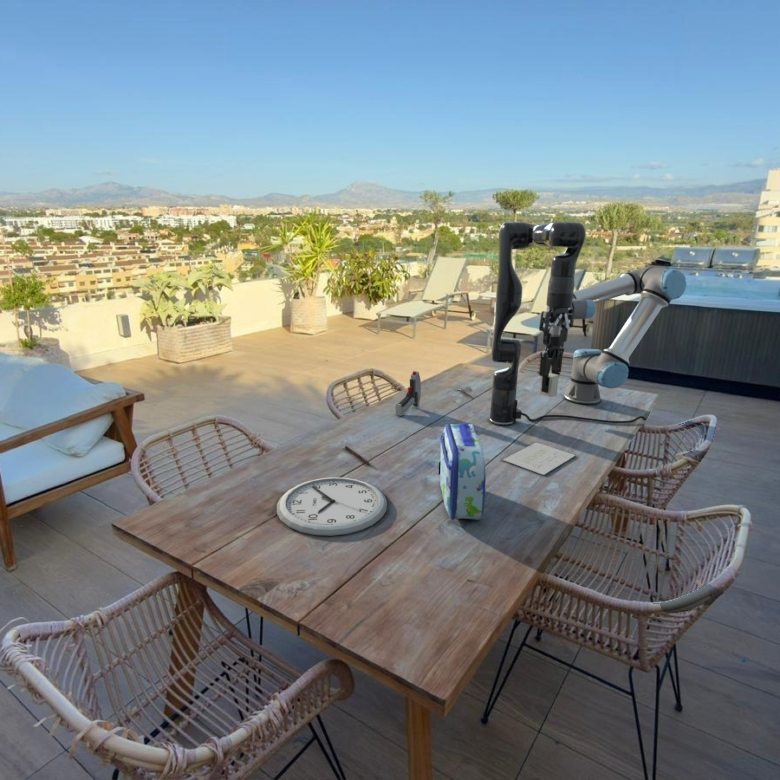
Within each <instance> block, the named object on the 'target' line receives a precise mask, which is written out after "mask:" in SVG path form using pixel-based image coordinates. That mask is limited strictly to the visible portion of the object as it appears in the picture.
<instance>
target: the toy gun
mask: <svg viewBox="0 0 780 780" xmlns="http://www.w3.org/2000/svg"><path fill="white" fill-rule="evenodd" d="M421 394H422V381H421V376H420V372H419V371H416V370H413V371H412V372H411V374H410V379H409V386H408V387H407V393H406V395H405V396H404V397H403V398H402V399H401V400H400V401H399V402H398V403H395V415H396V416H399V417H402V416H404V415H405V414H406V413H407V412H408V411H409V409H410V408H411V407H412V406H413V407H414V408H417V409H419V407H420V402H421V396H422V395H421Z"/></svg>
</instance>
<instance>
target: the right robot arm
mask: <svg viewBox="0 0 780 780" xmlns="http://www.w3.org/2000/svg"><path fill="white" fill-rule="evenodd" d="M686 288H687V278H686V275H685V274H684V273H683V272H682V271H681V270H679V269H675V268H672V267H660V266H646V267H640V268H638V269H634V270H631V271H628V272H625V273H622V274H620V276H619V277H616V278H614V279H611V280H607V281H605V282H604V281H603V282H600V283H597V284H594V285H591V286H588V287H585V288H581V289H578V290H574V292H573V301H572V306H571V307H570V308H571V309H574V310H575V311H574V320H588V319H589V320H590V319H592V318H593V317H594V316H595V314H596V310H597V307H596V304H599V303H602V302H606V301H609V300H612V299H615V298H618V297H622V296H632V295H640V296H641V298H640V300H639V301H638V303H637V305H636V306H635V308H634V309H633V311H632V312H631V314H630V316H629V317H628V318H627V320H626V322H624V325H623V326H622V328H621V329H620V331H619V332H618V334H617V335H616V337H615V338H614V340H613V341H612V343H611V345H610V346H609V347H608V348H605V349H603V350H602V349H596V348H580V349H576V350H575V351H574V353H573V356H572V366H571V372H570V373H571V374H570V382H569V383H568V386H567V387H566V390H565V391H564V395H563V397H564V399H565V400H566V401H568V402H570V403H574V404H578V405H579V404H580V405H596V404H599V403H600V402H601V393H600V387H602V388H606V389H617V388H619V387H621V386H622V385H623V384H624V383H625V382H626V381H627V379H628V377H629V372H630V371H629V368H628V367H629V365H630V357H631V355H632V354H633V352H634V350H635V349H636V348H637V346H638V344H640V342H641V340H642V339H643V337H644V335H645V334H646V333H647V332H648V329H649V328H650V327H651V325H652V323H653V322H654V320H655V319H656V317H657V316H658V314H659V313H660V311H661V310H662V309H663V308H666V307H668V306H669V305H670V303H671V302H672V301H674V300H677V299H680V298H681V297H682V296H683V295H684V293H685V292H686ZM548 311H549V306H547V305H546V312H548ZM549 323H551V322H549ZM549 328H550V327H548V329H549ZM560 330H561V327H560V325H559V324H558V325H556V327H555V328H553V330H552V332H551V342H550V345H545V348H544V351H540V352H539V355H540V356H539V357H540V360H539V361H540V363H539V372H538V373H539V374H538V375H539V376H540V377H541V376H542V377H543V378H542V389H541V392H545V393H548V388H549V379H550V377H548V376H549V373H552V374H557V375H559V376H560V375H561V371H562V366H563V365H562V363H563V359H564V358H563V357H564V352H565V348H562V346H563V345H564V342H562V341H560V340H559V339H560ZM550 371H551V372H550ZM599 386H600V387H599Z"/></svg>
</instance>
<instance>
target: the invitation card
mask: <svg viewBox="0 0 780 780" xmlns="http://www.w3.org/2000/svg"><path fill="white" fill-rule="evenodd" d="M576 456H577V455H576V454H573V453H570V452H567V451H565V450H561V449H558V448H555V447H552V446H549V445H546V444H543V443H539V442H534V443H532V444H529V445H528V446H526V447H524V448H522V449H520V450H518V451H516V452H514V453H512V454H510V455H509V456H507V457H505V458H503V459H502V461H503V462H506V463H509V464H511V465H514V466H518V467H520V468H523V469H525V470H528V471H531V472H534V473H536V474H539V475H541V476H545V475H547V474H548V473H550V472H552V471H554V469H556V468H558V467H559V466H561V465H563V464H564V463H566V462H568V461H570V460H571V459H572V458H574V457H576Z"/></svg>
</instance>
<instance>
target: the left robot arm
mask: <svg viewBox="0 0 780 780" xmlns="http://www.w3.org/2000/svg"><path fill="white" fill-rule="evenodd" d="M586 237H587V231H586V227H585V225H584V224H583V223H581V222H578V221H577V222H576V221H575V222H574V221H556V222H547V223H540V224H537V225H535V224H532V223H529V222H525V221H508V222H503V223H502V225H501V226H500V228H499V230H498V242H497V243H498V245H497V246H498V266H497V267H498V269H497V283H496V290H495V291H496V293H495V310H494V311H495V313H494V325H493V335H492V339H491V340H492V341H491V348H490V350H491V351H490V356H491V357H490V358H491V361H492V362H494V363H499V364H509V365H508V366H507V367H504V368H501V369H497V370H495V371H494V372H493V374H492V388H491V399H490V410H489V411H490V413H489V414H490V415H489V422H490V423H491V424H494V425H497V426H511V425H513V424H516V423H517V420H521V419H522V416H523V417H525V418H526V419H527V420H528V421H529V422H537V421H539V420H542V419H544V418H567V419H575V420H583V421H590V422H591V421H592V422H597V423H607V424H630V423H634V422H636V421H638V420H640V419H643V420H644V421H647V418H646V417H645V416H643V415H639V416H637V417H635V418H633V419H629V420H607V419H598V418H592V417H591V418H590V417H583V416H575V415H567V414H566V415H565V414H545V415H540V416H539V417H537V418H534V419H533V418H531V417H530V416H529V415H528V414H527V413H524V412H522V410H521V409H519V408H518V399H517V388H518V377H519V376H518V375H519V366H520V359H521V353H522V352H521V351H522V343H521V341H520V340H519V339H515V338H502V335H503V333H504V331H505V329H506V327H507V325H508V324H509V323H510V322H511V320H512V319H513V318H514V316H515V315H516V314H517V312H518V311H519V309H520V308H521V306H522V301H523V300H522V299H523V284H522V281H521V280H520V277H519V276H518V274H517V271H516V270H515V268H514V265H513V259H512V251H513V250H524V249H528V248H530V247H533V246H537V247H547V248H548V247H551V248H552V247H555V248H566V249H565V251H564V252H563V253H561V254H558V255H555V256H553V257H552V259H551V265H550V275H549V279H548V286H547V293H546V294H547V296H546V307H547V306H549V311H548V312H547V310H545V311H544V310H542V311H541V313H540V318H539V319H540V320H539V325H538V326H539V327H538V331H539V332H542V333H543V336H542V344H543V345H544V346H546V345H550V342H551V332H552V330H553V328H555V327H556V325H558V324H559V325H560V327H561V330H560V339H559V340H560V341H562V342H563V343H566V342H567V340H568V333H569V331H570V329H571V328H573V327H574V321H575V319H574V311H575V310H574V309H571V308H570V307H571V306H572V301H573V292H575V276H576V267H577V262H578V259H579V256H580V253H581V251H582V248H583V246H584V244H585V241H586ZM549 322H551V323H549ZM548 327H550V328H549V329H548Z"/></svg>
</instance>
